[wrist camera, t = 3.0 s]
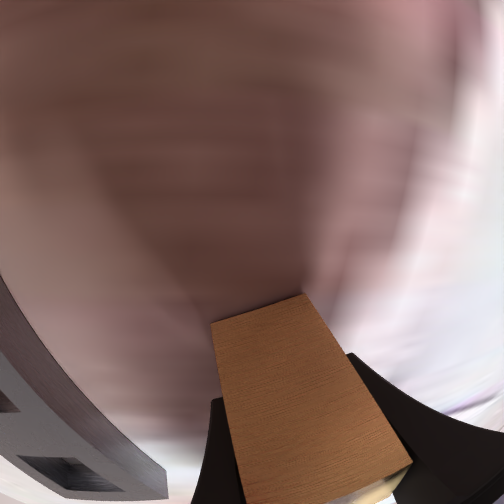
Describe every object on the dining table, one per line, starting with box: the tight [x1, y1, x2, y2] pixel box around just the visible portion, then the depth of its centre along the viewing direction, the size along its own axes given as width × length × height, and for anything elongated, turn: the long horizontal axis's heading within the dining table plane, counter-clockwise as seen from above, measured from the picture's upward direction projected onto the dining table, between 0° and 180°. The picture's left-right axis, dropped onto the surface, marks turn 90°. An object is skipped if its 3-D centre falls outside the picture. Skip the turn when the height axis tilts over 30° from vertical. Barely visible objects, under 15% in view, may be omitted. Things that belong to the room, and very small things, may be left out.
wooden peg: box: [210, 293, 413, 504], centre depth 9 cm, size 4×4×8 cm
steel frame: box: [0, 276, 169, 501], centre depth 11 cm, size 20×10×2 cm, turn 14°
